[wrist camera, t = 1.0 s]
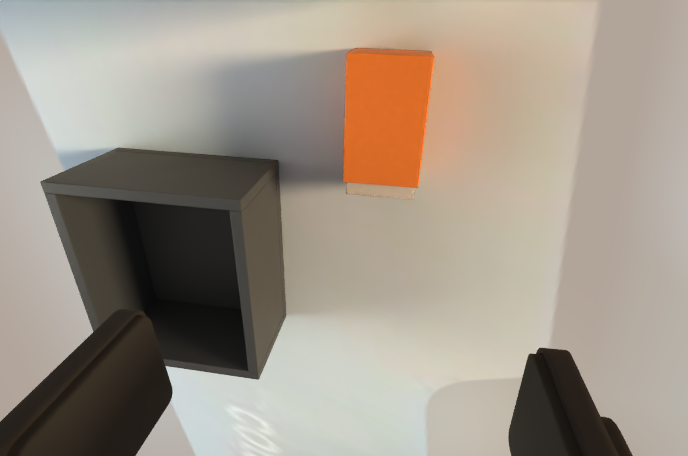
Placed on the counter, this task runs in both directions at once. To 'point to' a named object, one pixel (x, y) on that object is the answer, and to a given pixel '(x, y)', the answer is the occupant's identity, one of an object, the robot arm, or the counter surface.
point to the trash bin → (179, 251)
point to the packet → (385, 120)
